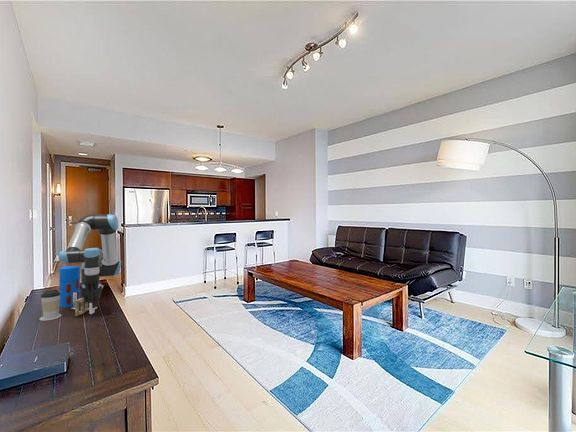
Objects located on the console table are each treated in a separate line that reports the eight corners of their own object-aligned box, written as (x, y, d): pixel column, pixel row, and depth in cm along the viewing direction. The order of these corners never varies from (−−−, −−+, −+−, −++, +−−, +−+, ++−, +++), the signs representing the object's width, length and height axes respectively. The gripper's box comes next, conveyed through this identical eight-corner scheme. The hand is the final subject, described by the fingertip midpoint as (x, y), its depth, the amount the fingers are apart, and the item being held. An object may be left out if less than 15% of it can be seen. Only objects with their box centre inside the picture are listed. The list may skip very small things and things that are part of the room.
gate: (90, 307, 182) (90, 293, 182) (92, 307, 182) (92, 293, 182) (75, 316, 168) (75, 300, 168) (77, 316, 168) (77, 300, 168)
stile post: (73, 307, 186) (73, 291, 186) (80, 307, 186) (80, 291, 186) (69, 309, 182) (69, 293, 182) (76, 309, 182) (75, 293, 182)
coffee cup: (49, 320, 163) (49, 293, 163) (36, 318, 165) (36, 292, 164) (64, 314, 172) (64, 289, 171) (52, 313, 173) (52, 288, 173)
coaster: (48, 314, 173) (48, 313, 173) (65, 314, 173) (65, 313, 173) (34, 320, 163) (34, 320, 163) (52, 320, 163) (52, 320, 163)
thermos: (83, 302, 195) (83, 266, 195) (70, 307, 185) (70, 269, 184) (69, 301, 197) (69, 265, 196) (55, 307, 186) (55, 268, 185)
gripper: (76, 275, 167) (76, 315, 168) (99, 275, 168) (99, 315, 168) (84, 272, 175) (84, 311, 175) (106, 272, 176) (106, 310, 176)
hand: (92, 313), depth 172 cm, fingers closed
